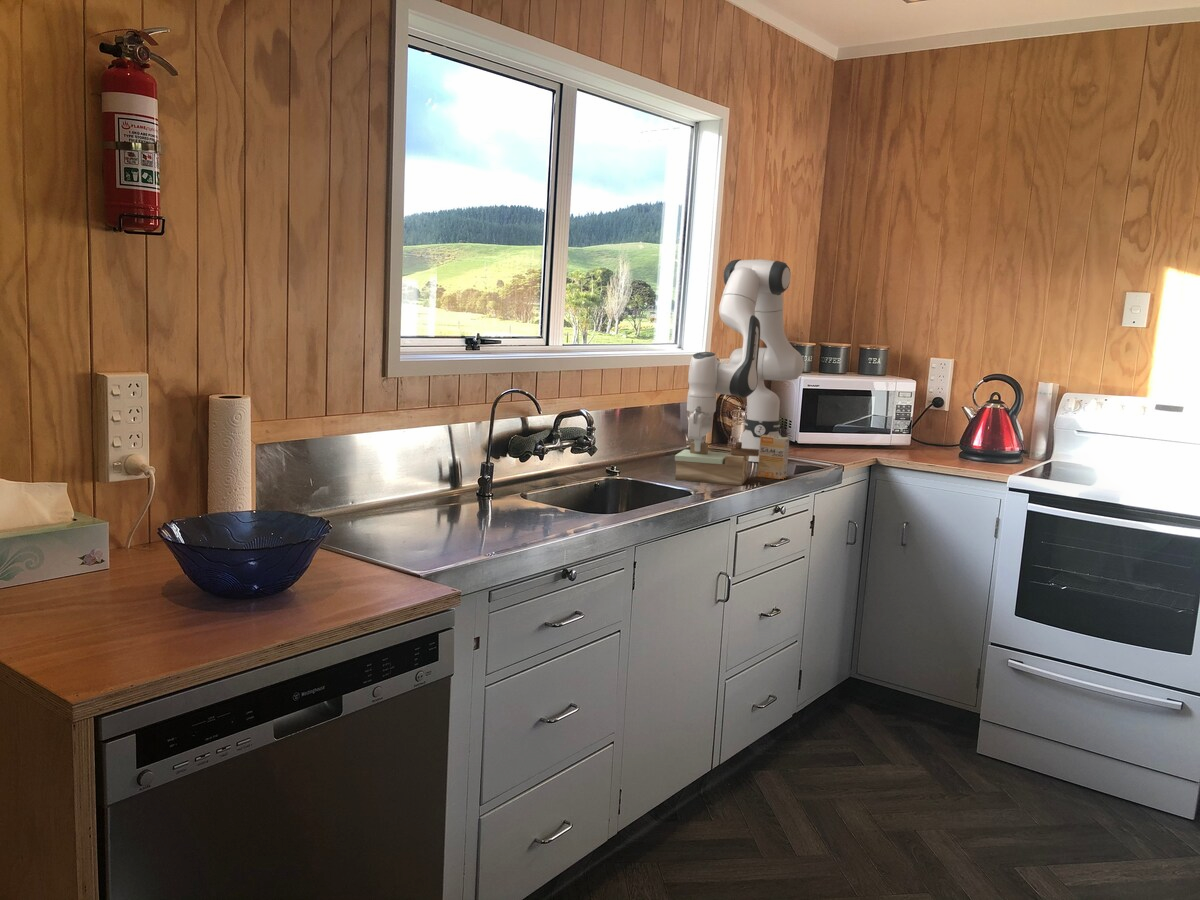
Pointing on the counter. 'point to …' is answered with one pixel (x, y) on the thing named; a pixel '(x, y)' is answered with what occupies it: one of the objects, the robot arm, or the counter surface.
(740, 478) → the toolbox
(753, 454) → the brown stepped wooden block
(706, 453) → the lid
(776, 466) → the supplement box
